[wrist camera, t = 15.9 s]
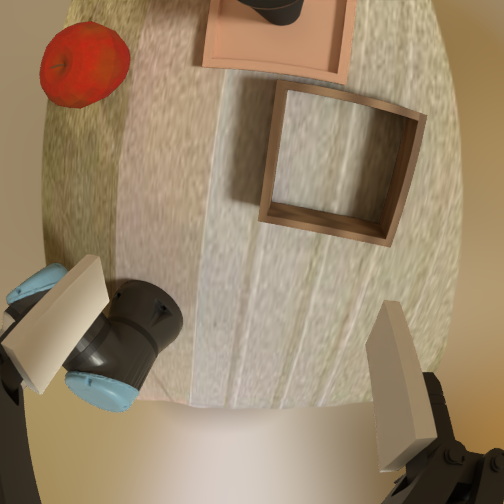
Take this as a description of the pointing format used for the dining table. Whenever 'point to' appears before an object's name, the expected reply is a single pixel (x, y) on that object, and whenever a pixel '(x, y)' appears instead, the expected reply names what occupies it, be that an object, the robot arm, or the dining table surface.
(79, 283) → the robot arm
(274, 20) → the drinking cup
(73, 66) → the apple
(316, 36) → the tray
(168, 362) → the dining table surface
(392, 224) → the wooden frame
